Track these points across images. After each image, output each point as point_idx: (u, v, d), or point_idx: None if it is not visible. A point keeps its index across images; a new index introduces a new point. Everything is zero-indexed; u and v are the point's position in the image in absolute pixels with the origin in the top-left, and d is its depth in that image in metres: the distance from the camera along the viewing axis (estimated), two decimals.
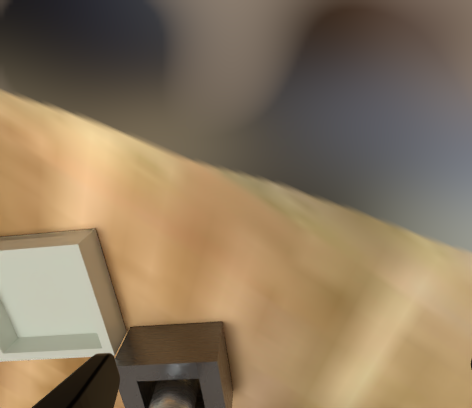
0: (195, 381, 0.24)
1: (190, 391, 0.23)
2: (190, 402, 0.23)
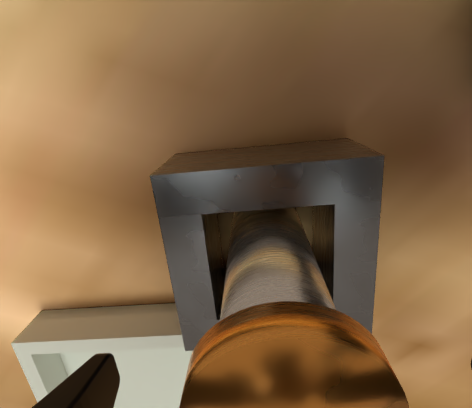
0: (253, 216, 0.12)
1: (244, 233, 0.11)
2: (250, 238, 0.11)
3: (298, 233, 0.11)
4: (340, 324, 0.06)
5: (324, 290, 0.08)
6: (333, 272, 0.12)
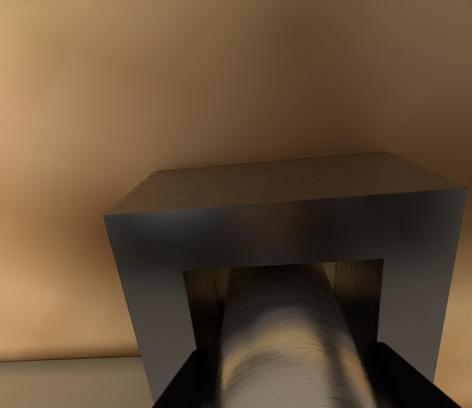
0: (258, 266, 0.09)
1: (246, 296, 0.08)
2: (255, 310, 0.07)
3: (326, 297, 0.08)
4: None
5: None
6: None
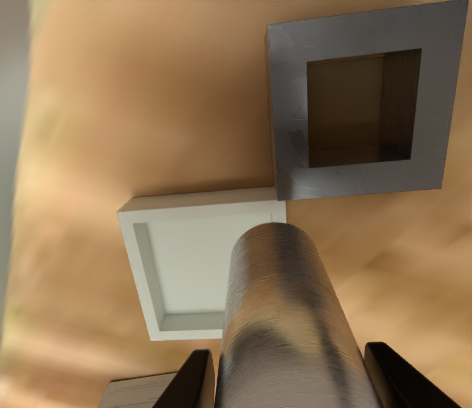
0: (259, 265, 0.09)
1: (247, 295, 0.08)
2: (256, 309, 0.07)
3: (327, 296, 0.08)
4: None
5: None
6: (414, 117, 0.14)
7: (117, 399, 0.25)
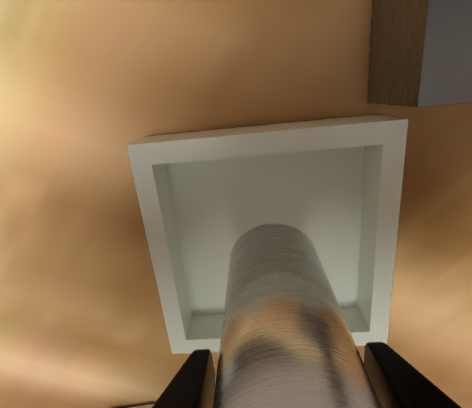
0: (258, 267, 0.09)
1: (246, 297, 0.08)
2: (254, 311, 0.07)
3: (326, 298, 0.08)
4: None
5: None
6: None
7: None
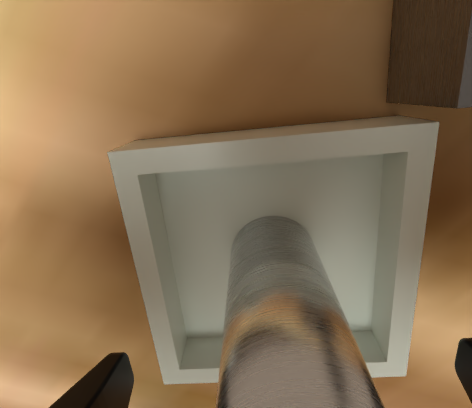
0: (259, 254, 0.09)
1: (248, 281, 0.08)
2: (256, 293, 0.08)
3: (321, 282, 0.08)
4: None
5: (375, 398, 0.05)
6: None
7: None
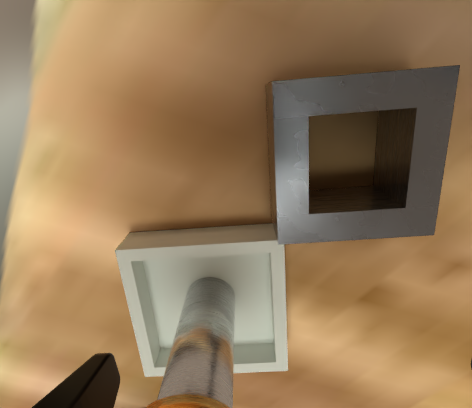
0: (194, 305, 0.18)
1: (185, 321, 0.17)
2: (187, 328, 0.16)
3: (221, 321, 0.17)
4: None
5: (223, 373, 0.14)
6: (409, 169, 0.15)
7: None
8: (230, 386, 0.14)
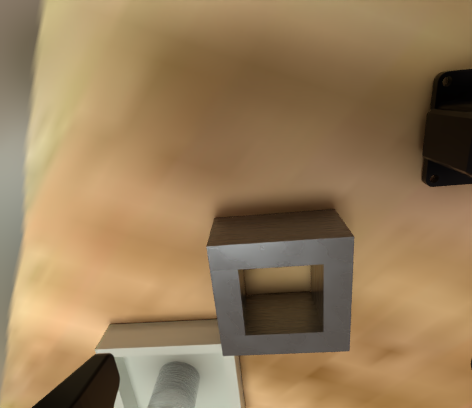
0: (159, 394, 0.22)
1: None
2: None
3: None
4: None
5: None
6: (323, 305, 0.18)
7: None
8: None
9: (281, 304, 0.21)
